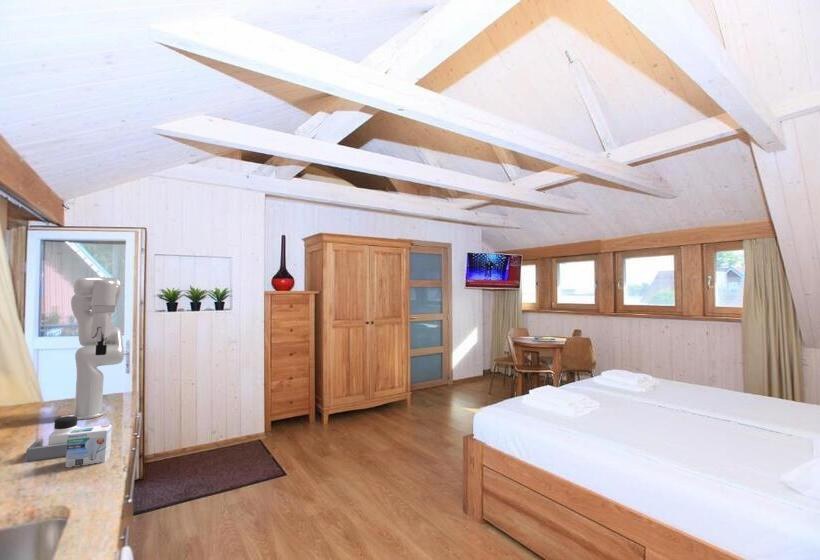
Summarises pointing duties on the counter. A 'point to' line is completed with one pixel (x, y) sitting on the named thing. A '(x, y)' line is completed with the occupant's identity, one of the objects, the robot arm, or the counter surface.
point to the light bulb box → (88, 445)
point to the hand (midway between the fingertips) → (100, 354)
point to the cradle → (45, 451)
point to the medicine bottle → (62, 429)
